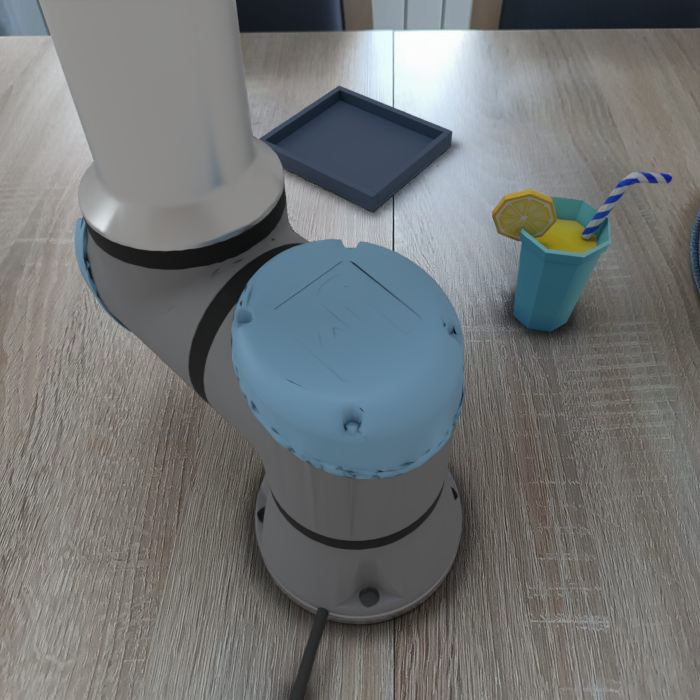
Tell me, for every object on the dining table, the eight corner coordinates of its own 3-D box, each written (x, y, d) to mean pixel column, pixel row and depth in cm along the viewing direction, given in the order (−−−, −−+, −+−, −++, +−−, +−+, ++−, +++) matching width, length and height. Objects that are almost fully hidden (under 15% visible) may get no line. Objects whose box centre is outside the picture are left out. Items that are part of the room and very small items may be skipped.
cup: (601, 271, 66) (651, 139, 54) (636, 328, 61) (699, 198, 49) (466, 291, 64) (487, 161, 53) (491, 351, 59) (520, 223, 48)
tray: (372, 212, 72) (372, 197, 71) (257, 155, 79) (255, 140, 78) (451, 146, 80) (452, 130, 78) (339, 100, 87) (339, 85, 85)
